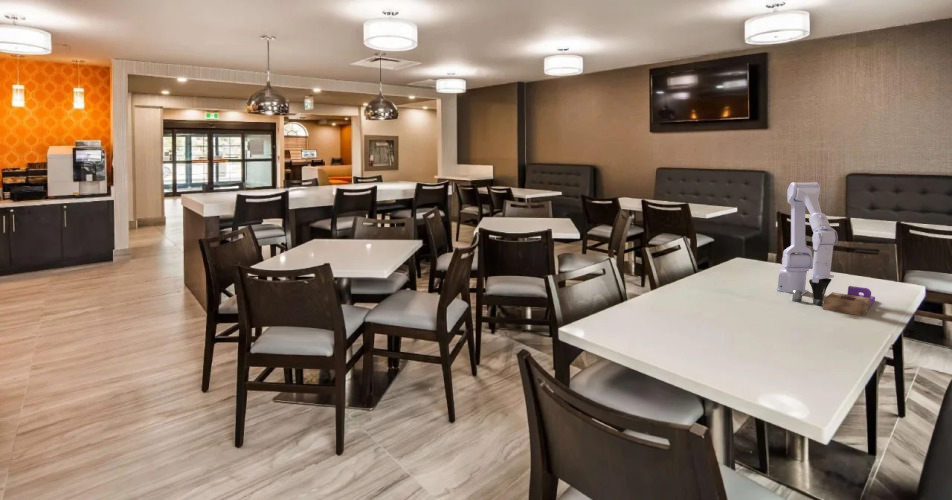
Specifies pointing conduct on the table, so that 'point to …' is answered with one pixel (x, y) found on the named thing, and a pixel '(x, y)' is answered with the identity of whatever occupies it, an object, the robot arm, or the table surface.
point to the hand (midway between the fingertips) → (818, 298)
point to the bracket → (865, 291)
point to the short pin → (797, 295)
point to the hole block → (847, 303)
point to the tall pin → (819, 302)
